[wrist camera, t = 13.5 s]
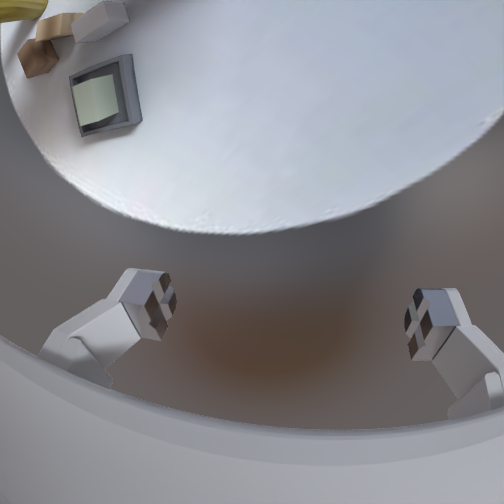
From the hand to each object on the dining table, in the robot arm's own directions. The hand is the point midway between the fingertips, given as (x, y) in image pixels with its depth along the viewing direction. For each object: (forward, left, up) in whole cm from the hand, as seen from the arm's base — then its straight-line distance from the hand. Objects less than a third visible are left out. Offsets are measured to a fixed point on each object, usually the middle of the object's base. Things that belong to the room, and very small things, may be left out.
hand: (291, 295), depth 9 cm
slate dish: (-6, -27, -29) cm, 40 cm away
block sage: (-6, -27, -28) cm, 40 cm away
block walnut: (-18, -39, -29) cm, 52 cm away
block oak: (-21, -33, -29) cm, 49 cm away
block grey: (-18, -25, -29) cm, 42 cm away
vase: (-30, -41, -29) cm, 58 cm away
